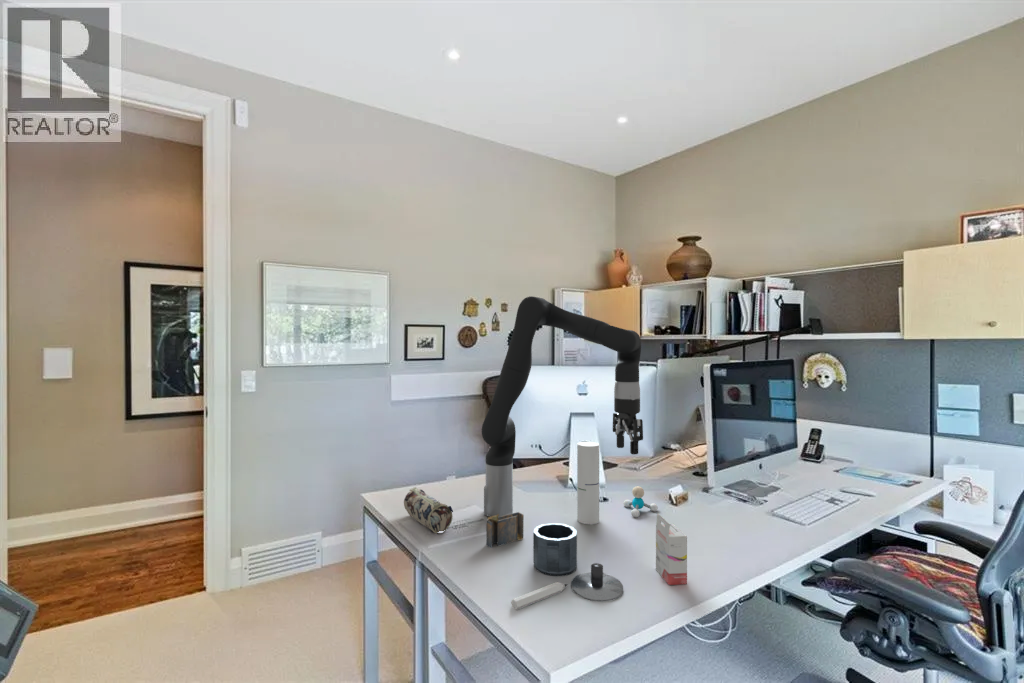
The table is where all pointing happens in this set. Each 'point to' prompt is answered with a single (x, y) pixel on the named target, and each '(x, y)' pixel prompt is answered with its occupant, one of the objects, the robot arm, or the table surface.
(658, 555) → the ink cartridge box
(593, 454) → the cylindrical container
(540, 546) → the pot
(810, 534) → the table surface
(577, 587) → the lid
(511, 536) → the weathered rectangular holder
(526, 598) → the marker
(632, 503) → the molecule model
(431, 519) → the pencil case
